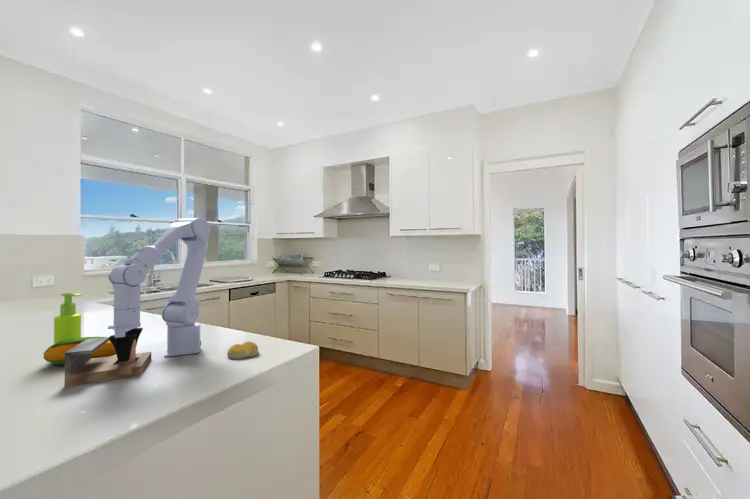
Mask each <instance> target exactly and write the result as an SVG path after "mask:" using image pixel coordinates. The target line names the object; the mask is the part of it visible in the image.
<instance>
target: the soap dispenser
mask: <svg viewBox="0 0 750 499" xmlns="http://www.w3.org/2000/svg"><path fill="white" fill-rule="evenodd" d="M60 296H63V297H64V301H63V303H62V304H60V305H59V306H60V308H59V309H60V310H59V313H60V314H59V315H55V316H54V319H53V320H54V321H53V345H54V344H56V343H57V342H59V341H63V340H68V339H74V338H82V334H81V333H82V314H81V313H76V312H77V311H76V308H77V306H76V303H74V302H73V297H81V296H82V293H78V292H65V293H61V294H60Z"/></svg>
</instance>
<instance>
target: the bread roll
mask: <svg viewBox="0 0 750 499" xmlns="http://www.w3.org/2000/svg"><path fill="white" fill-rule="evenodd" d="M257 354H260V352H259V346H258V345H257V344H256V343H255V342H253V341H245V342H243V343H242V344H240V343H236V344H235V343H234V344H233V345H231V346H230V347H229V348H228V349H227V352H226V355H227V357H228V358H229V359H233V360H242V359H243V360H244V359H247V358H252V357H253V356H254V357H256V356H257ZM255 355H256V356H255Z"/></svg>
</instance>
